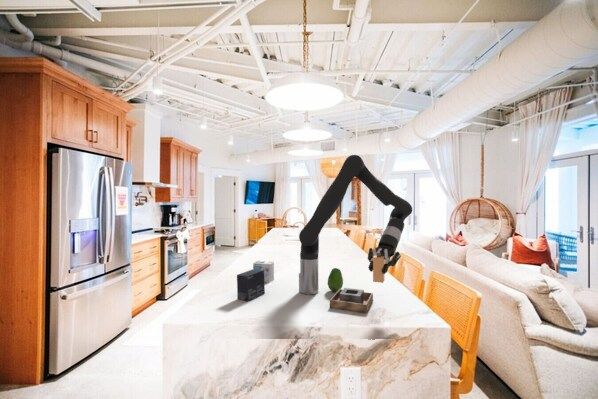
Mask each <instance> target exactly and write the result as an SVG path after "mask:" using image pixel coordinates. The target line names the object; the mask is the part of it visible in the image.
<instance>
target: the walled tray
mask: <svg viewBox="0 0 598 399" xmlns="http://www.w3.org/2000/svg"><path fill="white" fill-rule="evenodd" d="M373 302H374V293H373V292H365V289H358V288H350V287H344V288H343V289H342V288H341V289H339V290H338V291H336V292H335V293H334V295H333V296H332V297H331V298H330V299H329V308H330V309H334V308H335V309H336V310H340V309H341V310H342V311H347V310H348V312H355V313H361V314H368V311H369V309H370V307H371V305H372V304H373ZM335 309H334V310H335ZM341 310H340V311H341Z"/></svg>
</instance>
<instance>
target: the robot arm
mask: <svg viewBox="0 0 598 399" xmlns="http://www.w3.org/2000/svg"><path fill="white" fill-rule="evenodd" d="M354 178H356V179H358V180H359V181H360V182H361V183H362V184H363V185H365V187H366V188H368V189H369V191H370V192H371V193H372V194H373V196H374V197H376V199H377V200H378V201H380V202H381V204H383V205H384V206H385V207H389V206H390V205H391V206H392V207H394V208H392V210H391V212H390V213H389V214H390V215H389V218H388V222H387V224H386V227H385V229H384V230H383V232H382V234H381V237H380V238H379V241H378V244H377V247H376V248H372V247H369V249H368V254H367V260H368V262H369V264H368V271H370V272H371V273H373V257H374V256H377V252H380V253H381V256H384V266H383V268H382V273H383V274H384V275H385V274H387V273H388V271H389V268H390V267H395V266H396V264H397V263H398V261H399V260H400V259H401V257H402V256H401V253H400V251H396V250H397V248H398V245H399V243H400V241H401V236H402V233H403V231H404V228H405V220H406V219H407V218H408V217H409V216H410V215H411V214H412V212H413V207H412V204H410V203H409V201H407V199H404V198H402V197H400V196H399V195H397V194H395V193H394V192H393V190H391V189H390V188H389V187H388V186H387V185H386V184H384V182H382V181H381V180H380V179H379V178H377V177H376V176H375V175H374V174H373V173H372V172H371V171H370V170H369V168H368V167H367V166H366V164H365V162H364V160H363V159H362V157H361V156H360V155H357V154H350V155H349V156H347V158H345V160H344V161H343V164H342V166H341V168H340V170H339V172H338V173H337V175H336V177H335V179H334V180H333V181H332V183H331V184H330V186H329V187H328V189H327V190H326V191H325V193H324V195H323V196H322V198H321V199H320V201H319V203H318V205H317V206H316V209H315V210H314V212H313V214H312V216H311V217H310V219H309V221H308V222H307V223H306V225H305V226H304V227H303V228H302V229H301V230H300V232H299V234H298V235H299V236H298V238H299V239H298V240H299V242H300V253H299V254H300V255H299V262H300V263H299V265H300V268H299V269H300V271H299V273H298V292H299V293H301V294H304V295H315V294H317V293H319V252H320V251H319V250H320V249H319V248H320V247H319V244H320V233H321V232H322V230H323V228H324V226H325V225H326V224H327V223H328V221H330V219H331V217H332V216H333V215H334V214H335V213H336V211H337V210H338V209H339V207H340V205H341V203H342V202H343V200H344V198H345V196H346V193H347V191H348V188H349V185H350V184H351V183H352V182H353V180H354Z"/></svg>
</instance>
